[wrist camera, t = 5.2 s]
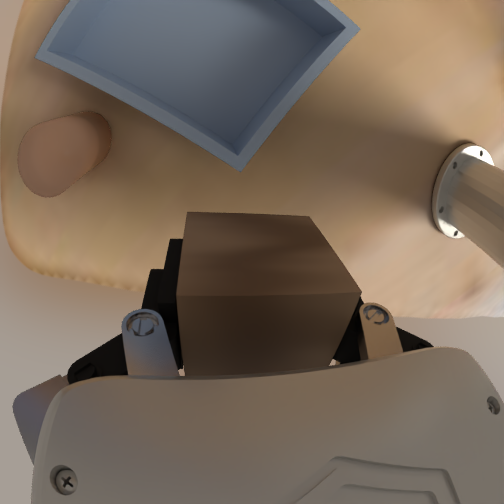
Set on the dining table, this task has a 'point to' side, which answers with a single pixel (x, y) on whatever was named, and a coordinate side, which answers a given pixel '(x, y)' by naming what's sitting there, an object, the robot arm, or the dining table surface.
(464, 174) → the robot arm
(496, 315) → the dining table surface
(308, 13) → the tote
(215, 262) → the walnut cube
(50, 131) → the terracotta cylinder
